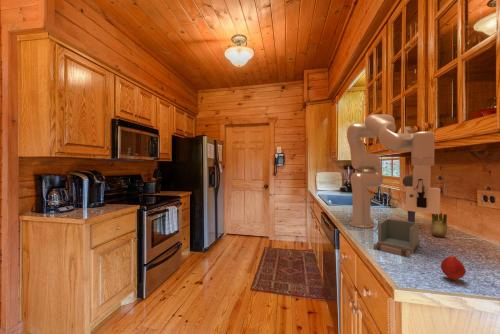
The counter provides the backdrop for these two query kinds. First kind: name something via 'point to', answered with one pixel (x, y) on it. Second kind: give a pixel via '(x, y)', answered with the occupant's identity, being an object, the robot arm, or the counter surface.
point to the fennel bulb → (439, 225)
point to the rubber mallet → (409, 182)
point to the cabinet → (397, 237)
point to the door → (432, 200)
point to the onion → (453, 268)
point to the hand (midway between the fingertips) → (422, 206)
